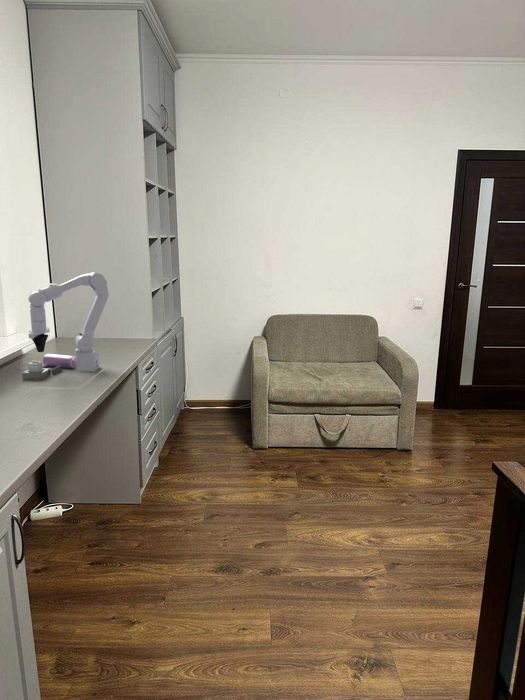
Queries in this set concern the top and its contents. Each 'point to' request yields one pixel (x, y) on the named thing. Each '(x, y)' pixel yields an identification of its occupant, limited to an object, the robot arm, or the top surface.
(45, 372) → the port
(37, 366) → the plug
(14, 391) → the top surface
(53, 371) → the holster
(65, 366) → the beverage can
